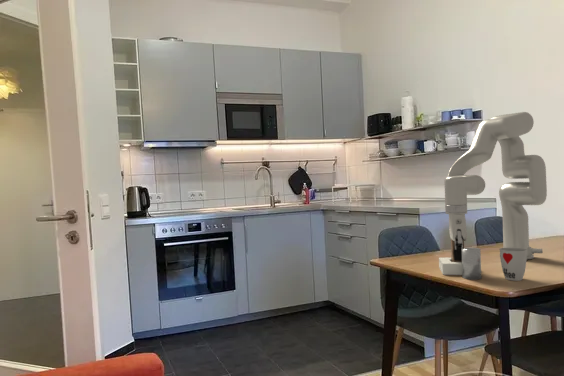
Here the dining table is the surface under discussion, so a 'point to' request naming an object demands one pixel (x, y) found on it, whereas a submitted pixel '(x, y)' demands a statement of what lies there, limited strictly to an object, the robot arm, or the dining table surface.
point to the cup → (513, 262)
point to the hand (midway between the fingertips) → (457, 258)
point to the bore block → (450, 267)
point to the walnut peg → (453, 250)
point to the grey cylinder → (471, 263)
